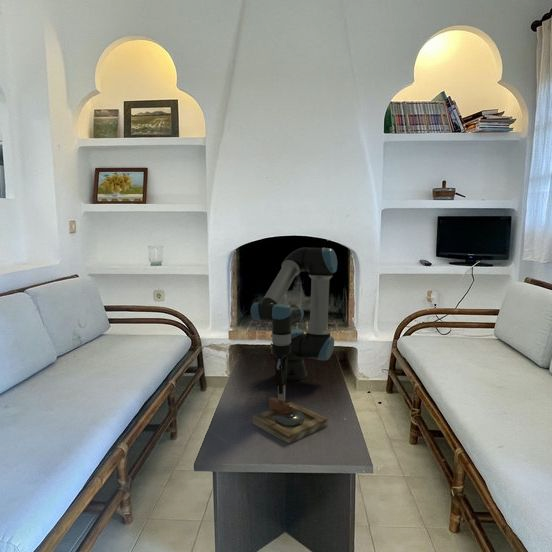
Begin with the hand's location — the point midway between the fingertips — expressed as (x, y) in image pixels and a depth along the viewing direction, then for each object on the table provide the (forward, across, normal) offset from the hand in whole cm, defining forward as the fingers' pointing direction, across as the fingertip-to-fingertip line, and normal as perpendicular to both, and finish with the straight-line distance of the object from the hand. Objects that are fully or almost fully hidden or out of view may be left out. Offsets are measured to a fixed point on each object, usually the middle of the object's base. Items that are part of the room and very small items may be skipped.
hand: (281, 400), depth 168 cm
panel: (+5, +10, +6) cm, 13 cm away
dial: (+3, +8, +3) cm, 10 cm away
